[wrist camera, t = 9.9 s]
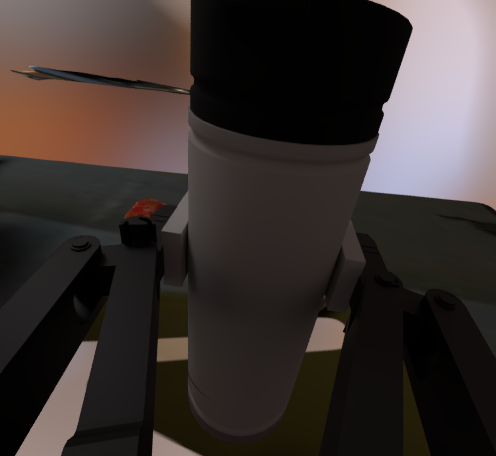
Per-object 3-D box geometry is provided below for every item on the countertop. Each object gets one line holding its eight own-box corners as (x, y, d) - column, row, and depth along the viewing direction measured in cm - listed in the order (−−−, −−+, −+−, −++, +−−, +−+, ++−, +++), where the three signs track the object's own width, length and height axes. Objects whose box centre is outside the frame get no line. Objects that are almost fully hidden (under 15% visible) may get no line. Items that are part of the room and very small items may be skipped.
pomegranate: (126, 247, 47) (114, 246, 38) (132, 201, 48) (122, 189, 38) (174, 251, 49) (174, 251, 39) (180, 207, 50) (181, 197, 40)
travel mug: (164, 424, 17) (123, -50, 6) (213, 334, 22) (238, -2, 12) (270, 474, 15) (457, -28, 5) (295, 365, 21) (410, 15, 10)
